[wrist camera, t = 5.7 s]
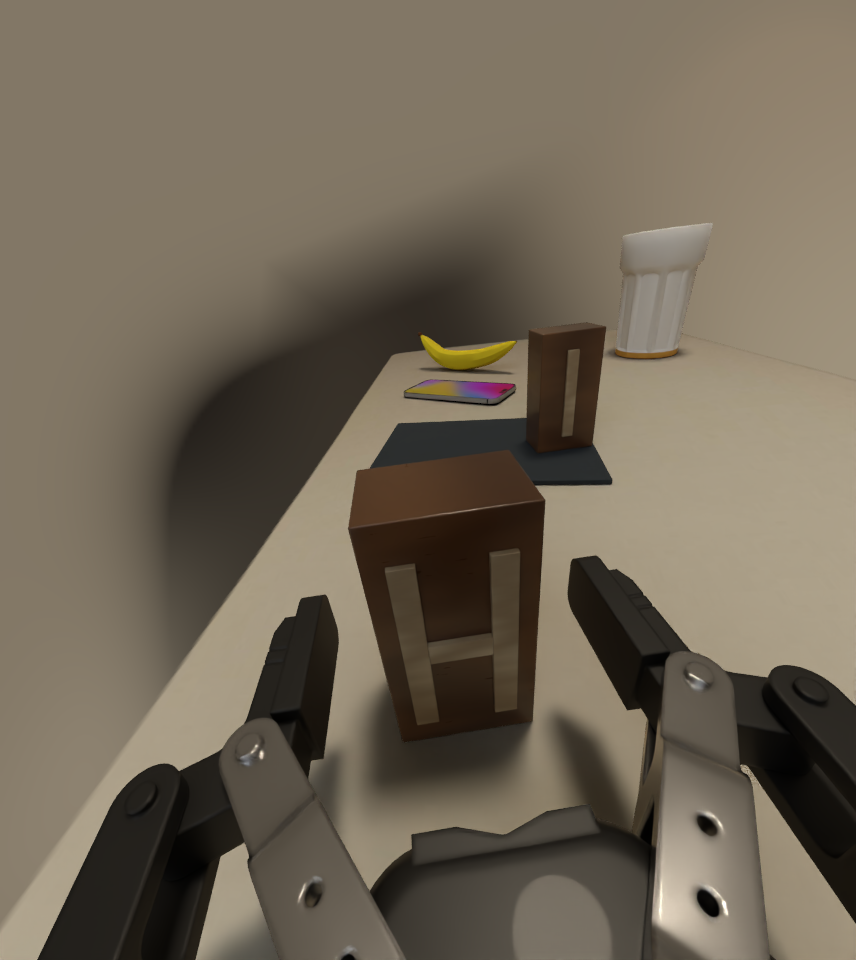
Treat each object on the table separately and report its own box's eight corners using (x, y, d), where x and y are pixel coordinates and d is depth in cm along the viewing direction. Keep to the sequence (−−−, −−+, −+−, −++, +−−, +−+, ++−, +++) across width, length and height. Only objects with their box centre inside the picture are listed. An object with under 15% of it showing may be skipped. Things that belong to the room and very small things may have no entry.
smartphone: (428, 379, 59) (518, 383, 51) (428, 383, 60) (518, 388, 52) (400, 392, 54) (495, 399, 46) (401, 397, 54) (495, 405, 46)
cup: (596, 350, 68) (609, 237, 59) (658, 343, 68) (680, 229, 59) (629, 363, 58) (649, 230, 49) (702, 354, 58) (734, 219, 49)
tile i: (538, 454, 33) (543, 334, 28) (525, 440, 36) (528, 329, 31) (593, 447, 33) (608, 326, 28) (576, 433, 36) (586, 322, 31)
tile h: (402, 749, 14) (346, 533, 9) (399, 665, 17) (356, 469, 12) (535, 727, 14) (549, 503, 9) (508, 648, 17) (509, 449, 12)
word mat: (361, 486, 32) (360, 482, 32) (398, 426, 44) (398, 423, 44) (611, 484, 28) (612, 479, 28) (577, 419, 40) (578, 415, 40)
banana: (512, 375, 59) (512, 332, 56) (417, 370, 69) (413, 334, 66) (520, 371, 61) (520, 329, 58) (426, 366, 71) (423, 331, 68)
